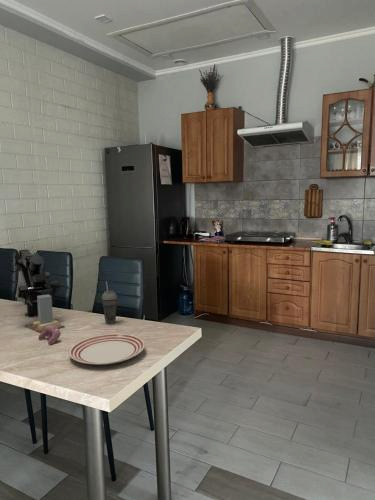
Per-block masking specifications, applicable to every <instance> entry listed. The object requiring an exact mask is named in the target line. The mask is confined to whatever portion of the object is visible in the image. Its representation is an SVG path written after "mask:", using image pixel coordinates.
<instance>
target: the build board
mask: <svg viewBox="0 0 375 500" xmlns="http://www.w3.org/2000/svg"><path fill="white" fill-rule="evenodd" d="M47 326H55V327H57V328H58V329H59V330H60V329H63V328H65V325H64V324H60V323H59V321H58V320H55V319H53V322H52V323H46V324H41V323H40V322H39V320H37V321H34V322H33V321H32V323H29V324H26V325H25V328H27V329H30V330H32V331H35V332H37V333H39V334H41V333H42V332H43V331H44V329H45V328H46V327H47Z"/></svg>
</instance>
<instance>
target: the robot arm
mask: <svg viewBox="0 0 375 500" xmlns="http://www.w3.org/2000/svg"><path fill="white" fill-rule="evenodd" d="M44 262H45V259H44V257H43V256H42V255H41V254H39V253H37V252H36V253H35V252H34V253H31V251H30V249H20V250H18V252H17V253H16V254H15V255H14V256H13V262H12V263H13V266H14V267H15V269H16V270H17V271H19V272H20V275H21V277H22V280H23V284H24V285H21V286H18V287H17V290H16V291H17V292H16V294H17V298H21V299H22V303H23V304H24V305H25V306H26V313H24V316H27V317H30V318H31V317H32V318H33V317H35V316H38V303H37V296H40V295H44V293H43V291H50V296H51V299H52V304H54V303H55V299H56V295H57V294H58V293H59V292H60V290H61V287H62V284H61V282H60V281H51V282H50V285H47V280H50V279H51V274H50V272H49V271H47V272H44V273H42V270H43V266H44Z"/></svg>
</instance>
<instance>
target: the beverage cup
mask: <svg viewBox="0 0 375 500" xmlns="http://www.w3.org/2000/svg"><path fill="white" fill-rule="evenodd" d="M105 285H106V291H104V293H102V295H101V303H102V306H103V307H102V308H103V314H104V321H105V325H115V324H116V317H117V302H118V296H117V294H116V292H115V291H114V290H111V289H109V287H108V281H107V280H106V281H105Z"/></svg>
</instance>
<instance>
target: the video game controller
mask: <svg viewBox="0 0 375 500" xmlns="http://www.w3.org/2000/svg"><path fill="white" fill-rule="evenodd" d="M61 334H62V333H61V330H60V329H58V328H57V327H55V326H47V327H46V328H45V329H44V331H43V332H42V333H39V334H38V340H39V341H42V340H44V339H45V338H46V339H47V340H48V342H47V344H48V345H49V346H52V345H53V344H55V343H56V342H57V341H58V340H59V338H60V336H61Z"/></svg>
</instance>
